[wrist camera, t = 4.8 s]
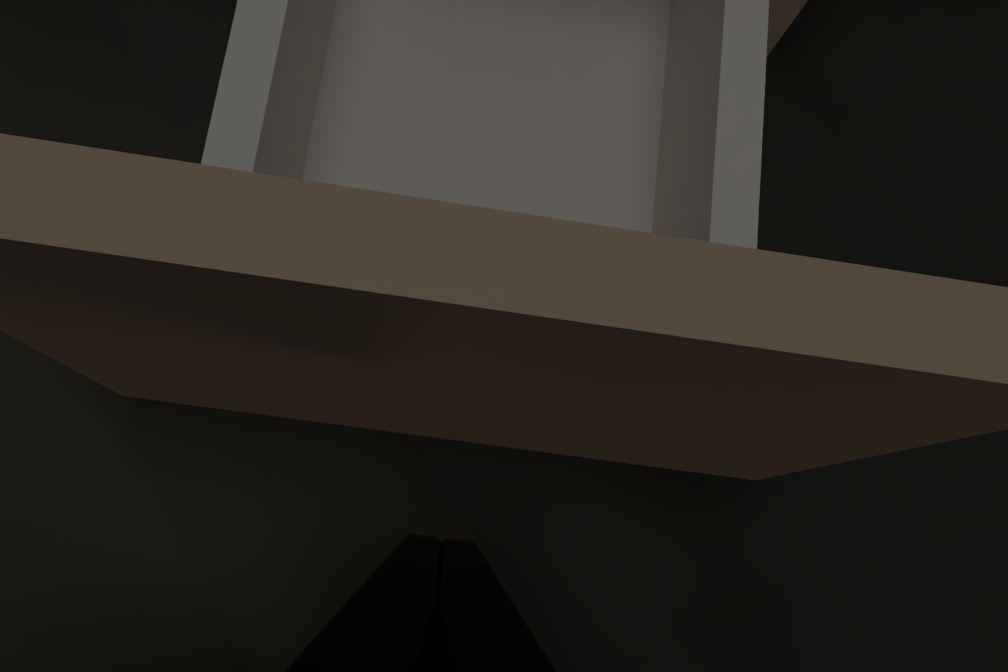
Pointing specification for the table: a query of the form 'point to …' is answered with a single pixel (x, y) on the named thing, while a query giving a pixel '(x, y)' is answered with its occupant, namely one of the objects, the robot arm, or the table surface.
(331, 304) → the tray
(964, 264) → the table surface
